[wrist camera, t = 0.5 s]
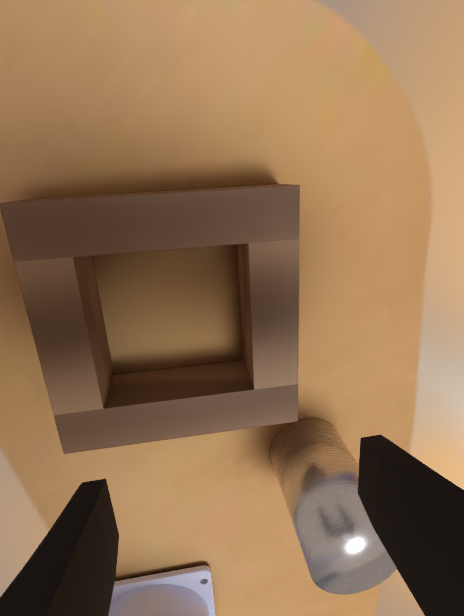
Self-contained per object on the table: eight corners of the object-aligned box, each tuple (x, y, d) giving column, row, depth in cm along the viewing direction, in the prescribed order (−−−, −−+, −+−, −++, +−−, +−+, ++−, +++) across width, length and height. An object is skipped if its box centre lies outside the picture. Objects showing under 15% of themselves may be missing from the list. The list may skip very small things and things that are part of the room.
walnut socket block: (281, 388, 21) (297, 421, 18) (79, 414, 20) (63, 453, 17) (279, 184, 17) (299, 185, 14) (30, 199, 16) (-1, 203, 13)
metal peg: (338, 471, 24) (400, 584, 17) (271, 482, 23) (309, 602, 17) (341, 413, 22) (411, 512, 16) (269, 423, 22) (310, 530, 15)
